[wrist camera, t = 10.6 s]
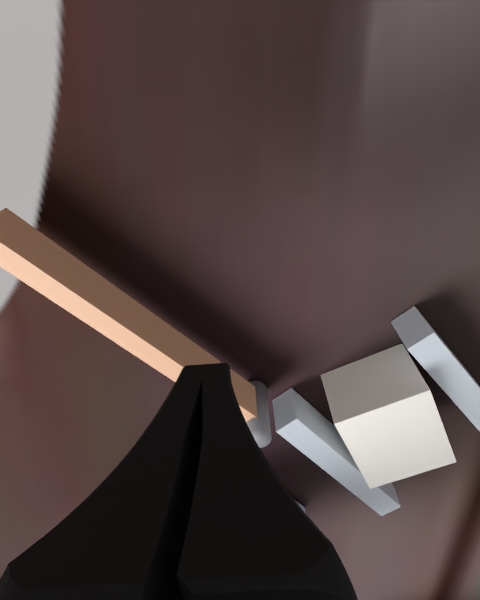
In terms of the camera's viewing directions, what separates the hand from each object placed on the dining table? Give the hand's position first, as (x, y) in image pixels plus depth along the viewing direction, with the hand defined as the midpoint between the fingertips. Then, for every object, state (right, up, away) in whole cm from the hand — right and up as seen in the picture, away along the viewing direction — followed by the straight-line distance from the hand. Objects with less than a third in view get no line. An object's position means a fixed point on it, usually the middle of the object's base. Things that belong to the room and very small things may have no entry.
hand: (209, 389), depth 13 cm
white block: (+9, -3, +13) cm, 16 cm away
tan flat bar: (-4, +2, +9) cm, 10 cm away
